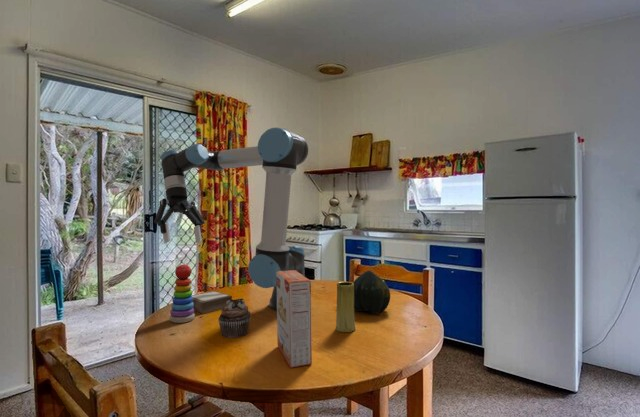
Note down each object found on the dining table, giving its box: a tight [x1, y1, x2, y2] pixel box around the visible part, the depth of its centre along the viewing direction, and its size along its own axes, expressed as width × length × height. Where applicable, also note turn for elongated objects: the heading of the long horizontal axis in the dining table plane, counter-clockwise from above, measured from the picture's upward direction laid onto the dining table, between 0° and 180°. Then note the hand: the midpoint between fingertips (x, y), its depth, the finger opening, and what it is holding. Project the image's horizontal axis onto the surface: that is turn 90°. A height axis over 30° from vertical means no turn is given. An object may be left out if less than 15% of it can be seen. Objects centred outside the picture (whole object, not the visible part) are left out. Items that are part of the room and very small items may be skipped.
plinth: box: [191, 290, 233, 315], centre depth 136 cm, size 12×12×4 cm
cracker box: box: [276, 270, 313, 369], centre depth 92 cm, size 14×6×21 cm, turn 19°
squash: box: [352, 269, 391, 315], centre depth 130 cm, size 14×15×15 cm
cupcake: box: [217, 298, 252, 339], centre depth 108 cm, size 10×10×10 cm
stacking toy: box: [169, 264, 196, 324], centre depth 121 cm, size 8×8×19 cm
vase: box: [335, 281, 356, 333], centre depth 111 cm, size 6×6×14 cm
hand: (183, 242), depth 133 cm, fingers open, 13 cm apart
